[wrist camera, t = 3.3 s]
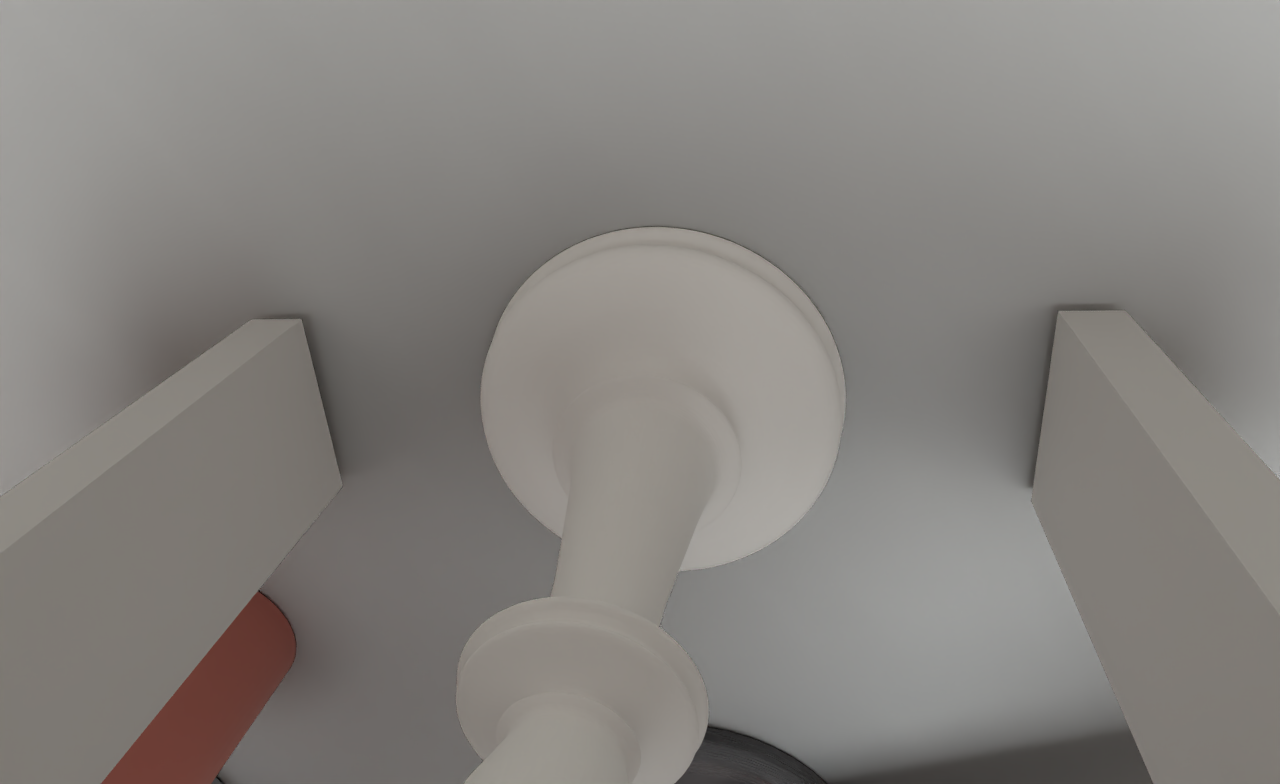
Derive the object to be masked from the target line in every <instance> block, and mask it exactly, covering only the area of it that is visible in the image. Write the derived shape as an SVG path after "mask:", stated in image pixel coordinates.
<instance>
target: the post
mask: <svg viewBox="0 0 1280 784" xmlns="http://www.w3.org/2000/svg"><path fill="white" fill-rule="evenodd" d="M295 655H296V642H295V637H294V634H293V631H292V628H291V626H290V625H289V623H288V621H287V619H286V618H285V616H284V615H283V614H282V612H281V611H280V610H279V609H278V608H277V607H276V606H275V605H274V604H273V603H272V602H271V601H270V600H269V599H267V598H266V597H265V596H264V595H262V594H261V593H259V592H258V591H257V593H256V594H255V595H254V596H253V597H252V599H251V600H250V601H249V602H248V604H247V605H246V606H245V607H244V608H243V610H242V611H241V612H240V613H239V615H238V616H237V617H236V618H235V620H234V621H233V622H232V623H231V624H230V626H229V627H228V628H227V629H226V631H225V632H224V633H223V634H222V635H221V637H220V638H219V639H218V640H217V642H216V643H215V644H214V645H213V647H212V648H211V649H210V650H209V651H208V653H207V654H206V655H205V656H204V658H203V659H202V660H201V661H200V663H199V664H198V665H197V666H196V667H195V669H194V670H193V671H192V672H191V674H190V675H189V676H188V677H187V678H186V680H185V681H184V682H183V683H182V685H181V686H180V687H179V688H178V690H177V691H176V692H175V693H174V694H173V696H172V697H171V698H170V699H169V701H168V702H167V703H166V704H165V706H164V707H163V708H162V709H161V710H160V712H159V713H158V714H157V715H156V717H155V718H154V719H153V720H152V721H151V723H150V724H149V725H148V726H147V728H146V729H145V730H144V731H143V733H142V734H141V735H140V736H139V737H138V739H137V740H136V741H135V742H134V744H133V745H132V746H131V747H130V748H129V750H128V751H127V752H126V753H125V755H124V756H123V757H122V758H121V760H120V761H119V762H118V763H117V764H116V766H115V767H114V768H113V769H112V771H111V772H110V773H109V774H108V776H107V777H106V778H105V779H104V780H103V782H102V783H101V784H211V783H212V782H213V780H214V779H215V777H216V776H217V774H218V773H219V771H220V770H221V769H222V767H223V766H224V764H225V763H226V761H227V760H228V758H229V757H230V755H231V754H232V752H233V751H234V750H235V748H236V747H237V745H238V744H239V742H240V741H241V739H242V738H243V736H244V735H245V733H246V732H247V731H248V729H249V728H250V726H251V725H252V723H253V722H254V720H255V719H256V717H257V716H258V714H259V713H260V712H261V710H262V709H263V707H264V706H265V704H266V703H267V701H268V700H269V698H270V697H271V695H272V694H273V693H274V691H275V690H276V688H277V687H278V685H279V684H280V682H281V681H282V679H283V678H284V676H285V675H286V674H287V672H288V671H289V669H290V668H291V666H292V664H293V662H294V659H295Z"/></svg>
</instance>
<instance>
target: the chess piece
mask: <svg viewBox="0 0 1280 784" xmlns="http://www.w3.org/2000/svg"><path fill="white" fill-rule="evenodd" d="M480 403H481V416H482V423H483V428H484V433H485V437H486V440H487V444H488V447H489V449H490V452H491V455H492V457H493V460H494V462H495V464H496V466H497V468H498V470H499V472H500V474H501V476H502V477H503V479H504V481H505V482H506V484H507V485H508V487H509V488H510V490H511V491H512V492H513V494H514V495H515V496H516V498H517V499H518V500H519V501H520V503H521V504H522V505H523V506H524V507H525V508H526V509H527V510H528V511H529V512H530V513H531V514H532V515H533V516H534V517H535V518H536V519H537V520H538V521H539V522H540V523H542V524H543V525H544V526H545V527H547V528H548V529H549V530H550V531H552V532H553V533H554V534H556V535H557V536H559V537H560V538H562V541H561V546H560V552H559V557H558V563H557V569H556V575H555V580H554V584H553V588H552V592H551V596H550V597H545V598H539V599H534V600H529V601H525V602H522V603H519V604H515V605H513V606H510V607H508V608H506V609H504V610H502V611H500V612H498V613H496V614H495V615H493V616H492V617H490V618H489V619H487V620H486V621H485V622H484V623H483V624H482V625H480V626H479V627H478V629H477V630H476V631H475V632H474V633H473V634H472V635H471V637H470V638H469V640H468V641H467V643H466V645H465V647H464V649H463V651H462V653H461V656H460V659H459V663H458V669H457V689H456V708H457V715H458V719H459V722H460V725H461V728H462V730H463V732H464V734H465V736H466V738H467V740H468V742H469V743H470V745H471V746H472V747H473V749H474V750H475V752H476V753H477V754H478V756H479V757H480V758H481V759H482V760H483V762H482V763H481V764H480V765H479V766H478V767H477V768H476V769H475V770H474V771H473V772H472V774H471V775H470V776H469V777H468V778H467V779H466V781H465V782H464V783H463V784H674V783H676V782H677V781H678V780H679V779H680V778H681V777H682V775H683V774H684V773H685V772H686V770H687V769H688V767H689V766H690V764H691V762H692V760H693V758H694V756H695V753H696V752H697V750H698V749H699V747H700V745H701V743H702V741H703V739H704V736H705V733H706V730H707V726H708V721H709V701H708V695H707V691H706V688H705V684H704V682H703V679H702V677H701V675H700V673H699V671H698V669H697V667H696V665H695V664H694V662H693V661H692V660H691V658H690V657H689V655H688V654H687V653H686V652H685V650H684V649H683V648H682V647H681V646H680V645H679V644H678V643H677V642H676V641H675V640H674V639H673V638H672V637H671V636H670V635H668V634H667V633H666V632H665V631H664V630H662V629H661V628H659V627H660V624H661V620H662V617H663V614H664V610H665V607H666V605H667V602H668V599H669V597H670V594H671V591H672V589H673V586H674V583H675V581H676V578H677V575H678V572H679V571H688V570H698V569H705V568H710V567H715V566H720V565H723V564H727V563H730V562H733V561H736V560H739V559H741V558H744V557H746V556H749V555H751V554H753V553H755V552H757V551H759V550H761V549H763V548H765V547H766V546H768V545H770V544H771V543H773V542H774V541H776V540H777V539H779V538H780V537H781V536H783V535H784V534H785V533H787V532H788V531H789V530H790V529H791V528H793V527H794V526H795V525H796V524H797V523H798V522H799V521H800V520H801V519H802V518H803V517H804V516H805V515H806V513H807V512H808V511H809V510H810V508H811V507H812V506H813V505H814V503H815V502H816V500H817V499H818V498H819V496H820V494H821V493H822V491H823V489H824V487H825V486H826V484H827V482H828V480H829V477H830V475H831V473H832V470H833V468H834V464H835V461H836V458H837V455H838V451H839V446H840V440H841V435H842V431H843V426H844V420H845V411H846V386H845V378H844V372H843V367H842V363H841V359H840V355H839V352H838V349H837V347H836V344H835V341H834V339H833V337H832V334H831V332H830V330H829V328H828V327H827V325H826V323H825V321H824V319H823V317H822V316H821V314H820V313H819V311H818V310H817V308H816V307H815V306H814V304H813V303H812V302H811V300H810V299H809V298H808V297H807V295H806V294H805V293H804V292H803V291H802V290H801V289H800V288H799V287H798V286H797V285H796V284H795V283H794V282H793V281H792V280H791V279H790V278H789V277H788V276H787V275H785V274H784V273H783V272H782V271H781V270H780V269H778V268H777V267H775V266H774V265H773V264H771V263H770V262H768V261H767V260H766V259H764V258H762V257H761V256H759V255H757V254H756V253H754V252H752V251H750V250H748V249H746V248H744V247H742V246H740V245H738V244H736V243H733V242H731V241H728V240H725V239H723V238H720V237H717V236H713V235H710V234H706V233H702V232H698V231H692V230H687V229H679V228H669V227H641V228H632V229H625V230H619V231H614V232H610V233H606V234H603V235H599V236H596V237H593V238H590V239H587V240H585V241H583V242H581V243H578V244H576V245H574V246H572V247H570V248H568V249H566V250H564V251H563V252H561V253H559V254H558V255H556V256H555V257H553V258H552V259H550V260H549V261H548V262H546V263H545V264H544V265H542V266H541V267H540V268H539V269H538V270H536V271H535V272H534V273H533V274H532V275H531V276H530V277H529V278H528V279H527V280H526V281H525V283H524V284H523V285H522V286H521V287H520V288H519V290H518V291H517V292H516V293H515V295H514V296H513V298H512V299H511V301H510V302H509V304H508V305H507V307H506V309H505V311H504V313H503V315H502V316H501V318H500V320H499V323H498V325H497V328H496V330H495V333H494V336H493V340H492V343H491V345H490V348H489V351H488V354H487V357H486V360H485V364H484V368H483V373H482V380H481V393H480Z"/></svg>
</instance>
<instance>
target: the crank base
mask: <svg viewBox="0 0 1280 784" xmlns="http://www.w3.org/2000/svg"><path fill="white" fill-rule="evenodd" d="M674 784H826V783H825V782H824V781H823V780H822V779H821V778H819V777H818V776H817V775H816V774H815V773H814V772H813V771H811V770H810V769H808V768H807V767H806V766H804V765H803V764H801V763H800V762H798V761H797V760H795V759H794V758H792V757H790V756H789V755H787V754H785V753H783V752H781V751H779V750H777V749H776V748H774V747H771V746H769V745H767V744H764V743H762V742H759V741H757V740H755V739H752V738H749V737H746V736H742V735H739V734H736V733H733V732H729V731H724V730H719V729H715V728H710V727H707V730H706V733H705V736H704V739H703V741H702V743H701V745H700V747H699V749H698V750H697V752H696V753H695V756H694V758H693V760H692V762H691V764H690V766H689V767H688V769H687V770H686V772H685V773H684V774H683V775H682V777H681V778H680V779H679V780H678V781H677V782H676V783H674Z"/></svg>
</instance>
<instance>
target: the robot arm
mask: <svg viewBox="0 0 1280 784" xmlns="http://www.w3.org/2000/svg"><path fill="white" fill-rule="evenodd" d="M342 487H343V485H342V481H341V477H340V472H339V468H338V464H337V460H336V456H335V452H334V448H333V444H332V440H331V436H330V432H329V428H328V424H327V420H326V416H325V412H324V408H323V404H322V400H321V396H320V392H319V388H318V384H317V380H316V375H315V371H314V367H313V363H312V359H311V355H310V351H309V347H308V343H307V339H306V335H305V331H304V327H303V323H302V319H251V320H250V321H248V322H247V323H246V324H244V325H243V326H241V327H240V328H238V329H237V330H236V331H234V332H233V333H231V334H230V335H229V336H227V337H226V338H224V339H223V340H221V341H220V342H219V343H217V344H216V345H214V346H213V347H212V348H210V349H209V350H207V351H206V352H205V353H203V354H202V355H200V356H199V357H197V358H196V359H195V360H193V361H192V362H190V363H189V364H188V365H186V366H185V367H183V368H182V369H180V370H179V371H178V372H176V373H175V374H173V375H172V376H171V377H169V378H168V379H166V380H165V381H163V382H162V383H161V384H159V385H158V386H156V387H155V388H154V389H152V390H151V391H149V392H148V393H147V394H145V395H144V396H142V397H141V398H139V399H138V400H137V401H135V402H134V403H132V404H131V405H130V406H128V407H127V408H125V409H124V410H122V411H121V412H120V413H118V414H117V415H115V416H114V417H113V418H111V419H110V420H108V421H107V422H105V423H104V424H103V425H101V426H100V427H98V428H97V429H96V430H94V431H93V432H91V433H90V434H89V435H87V436H86V437H84V438H83V439H81V440H80V441H79V442H77V443H76V444H74V445H73V446H72V447H70V448H69V449H67V450H66V451H64V452H63V453H62V454H60V455H59V456H57V457H56V458H55V459H53V460H52V461H50V462H49V463H47V464H46V465H45V466H43V467H42V468H40V469H39V470H38V471H36V472H35V473H33V474H32V475H31V476H29V477H28V478H26V479H25V480H23V481H22V482H21V483H19V484H18V485H16V486H15V487H14V488H12V489H11V490H9V491H8V492H6V493H5V494H4V495H2V496H1V497H0V784H101V783H102V782H103V780H104V779H105V778H106V777H107V776H108V774H109V773H110V772H111V771H112V769H113V768H114V767H115V766H116V764H117V763H118V762H119V761H120V760H121V758H122V757H123V756H124V755H125V753H126V752H127V751H128V750H129V748H130V747H131V746H132V745H133V744H134V742H135V741H136V740H137V739H138V737H139V736H140V735H141V734H142V733H143V731H144V730H145V729H146V728H147V726H148V725H149V724H150V723H151V721H152V720H153V719H154V718H155V717H156V715H157V714H158V713H159V712H160V710H161V709H162V708H163V707H164V706H165V704H166V703H167V702H168V701H169V699H170V698H171V697H172V696H173V694H174V693H175V692H176V691H177V690H178V688H179V687H180V686H181V685H182V683H183V682H184V681H185V680H186V678H187V677H188V676H189V675H190V674H191V672H192V671H193V670H194V669H195V667H196V666H197V665H198V664H199V663H200V661H201V660H202V659H203V658H204V656H205V655H206V654H207V653H208V651H209V650H210V649H211V648H212V647H213V645H214V644H215V643H216V642H217V640H218V639H219V638H220V637H221V635H222V634H223V633H224V632H225V631H226V629H227V628H228V627H229V626H230V624H231V623H232V622H233V621H234V620H235V618H236V617H237V616H238V615H239V613H240V612H241V611H242V610H243V608H244V607H245V606H246V605H247V604H248V602H249V601H250V600H251V599H252V597H253V596H254V595H255V594H256V593H257V591H258V590H259V589H260V588H261V586H262V585H263V584H264V583H265V581H266V580H267V579H268V578H269V577H270V575H271V574H272V573H273V572H274V570H275V569H276V568H277V567H278V565H279V564H280V563H281V562H282V561H283V559H284V558H285V557H286V556H287V554H288V553H289V552H290V551H291V550H292V548H293V547H294V546H295V545H296V543H297V542H298V541H299V540H300V538H301V537H302V536H303V535H304V534H305V532H306V531H307V530H308V529H309V527H310V526H311V525H312V524H313V522H314V521H315V520H316V519H317V518H318V516H319V515H320V514H321V513H322V511H323V510H324V509H325V508H326V507H327V505H328V504H329V503H330V502H331V500H332V499H333V498H334V497H335V495H336V494H337V493H338V492H339V491H340V489H341V488H342ZM1031 502H1032V504H1033V507H1034V509H1035V511H1036V513H1037V516H1038V518H1039V520H1040V523H1041V525H1042V527H1043V530H1044V532H1045V534H1046V537H1047V539H1048V541H1049V544H1050V546H1051V548H1052V550H1053V553H1054V555H1055V557H1056V560H1057V562H1058V564H1059V567H1060V569H1061V571H1062V574H1063V576H1064V578H1065V581H1066V583H1067V585H1068V587H1069V590H1070V592H1071V594H1072V597H1073V599H1074V601H1075V604H1076V606H1077V608H1078V611H1079V613H1080V615H1081V617H1082V620H1083V622H1084V624H1085V627H1086V629H1087V631H1088V634H1089V636H1090V638H1091V641H1092V643H1093V645H1094V648H1095V650H1096V652H1097V654H1098V657H1099V659H1100V661H1101V664H1102V666H1103V668H1104V671H1105V673H1106V675H1107V678H1108V680H1109V682H1110V685H1111V687H1112V689H1113V691H1114V694H1115V696H1116V698H1117V701H1118V703H1119V705H1120V708H1121V710H1122V712H1123V715H1124V717H1125V719H1126V722H1127V724H1128V726H1129V728H1130V731H1131V733H1132V735H1133V738H1134V740H1135V742H1136V745H1137V747H1138V749H1139V752H1140V754H1141V756H1142V758H1143V761H1144V763H1145V765H1146V768H1147V770H1148V772H1149V775H1150V777H1151V779H1152V782H1153V784H1280V480H1279V479H1278V478H1277V476H1276V475H1275V474H1274V473H1273V472H1272V471H1271V470H1270V469H1269V468H1268V467H1267V465H1266V464H1265V463H1264V462H1263V461H1262V460H1261V459H1260V458H1259V457H1258V456H1257V454H1256V453H1255V452H1254V451H1253V450H1252V449H1251V448H1250V447H1249V446H1248V445H1247V443H1246V442H1245V441H1244V440H1243V439H1242V438H1241V437H1240V436H1239V435H1238V434H1237V432H1236V431H1235V430H1234V429H1233V428H1232V427H1231V426H1230V425H1229V424H1228V423H1227V422H1226V420H1225V419H1224V418H1223V417H1222V416H1221V415H1220V414H1219V413H1218V412H1217V411H1216V409H1215V408H1214V407H1213V406H1212V405H1211V404H1210V403H1209V402H1208V401H1207V400H1206V398H1205V397H1204V396H1203V395H1202V394H1201V393H1200V392H1199V391H1198V390H1197V389H1196V387H1195V386H1194V385H1193V384H1192V383H1191V382H1190V381H1189V380H1188V379H1187V378H1186V376H1185V375H1184V374H1183V373H1182V372H1181V371H1180V370H1179V369H1178V368H1177V367H1176V365H1175V364H1174V363H1173V362H1172V361H1171V360H1170V359H1169V358H1168V357H1167V356H1166V355H1165V353H1164V352H1163V351H1162V350H1161V349H1160V348H1159V347H1158V346H1157V345H1156V344H1155V342H1154V341H1153V340H1152V339H1151V338H1150V337H1149V336H1148V335H1147V334H1146V333H1145V331H1144V330H1143V329H1142V328H1141V327H1140V326H1139V325H1138V324H1137V323H1136V322H1135V320H1134V319H1133V318H1132V317H1131V316H1130V315H1129V314H1128V313H1127V312H1126V311H1125V310H1098V311H1058V316H1057V323H1056V330H1055V337H1054V344H1053V351H1052V358H1051V365H1050V372H1049V379H1048V386H1047V393H1046V400H1045V407H1044V414H1043V421H1042V428H1041V435H1040V442H1039V449H1038V456H1037V463H1036V470H1035V477H1034V484H1033V491H1032V498H1031Z"/></svg>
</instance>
